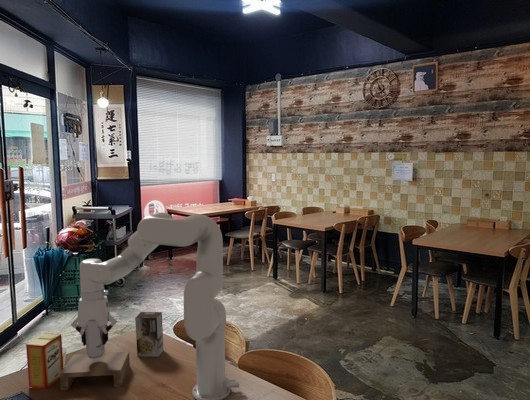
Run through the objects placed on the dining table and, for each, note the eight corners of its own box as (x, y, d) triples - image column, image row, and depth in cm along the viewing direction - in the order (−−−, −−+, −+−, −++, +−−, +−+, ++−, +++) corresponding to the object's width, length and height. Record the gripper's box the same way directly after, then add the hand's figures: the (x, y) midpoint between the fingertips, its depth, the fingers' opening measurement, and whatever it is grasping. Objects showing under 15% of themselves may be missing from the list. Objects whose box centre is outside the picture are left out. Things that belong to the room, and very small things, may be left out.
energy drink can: (101, 359, 151) (98, 318, 149) (83, 359, 151) (81, 318, 149) (107, 351, 157) (105, 311, 155) (90, 351, 157) (88, 311, 155)
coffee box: (164, 349, 176) (162, 311, 175) (158, 357, 170) (157, 317, 168) (142, 349, 177) (140, 311, 176) (136, 356, 171) (134, 317, 169)
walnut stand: (129, 366, 163) (129, 351, 162) (121, 386, 149) (120, 369, 148) (74, 369, 161) (73, 354, 160) (60, 390, 147) (59, 373, 146)
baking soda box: (45, 389, 147) (42, 344, 145) (29, 387, 148) (25, 343, 147) (63, 375, 156) (61, 333, 155) (47, 374, 158) (45, 332, 156)
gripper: (120, 290, 156) (122, 337, 158) (70, 292, 154) (73, 340, 156) (115, 296, 149) (117, 347, 150) (63, 299, 147) (66, 349, 149)
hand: (95, 343), depth 153 cm, fingers closed on energy drink can, 6 cm apart
